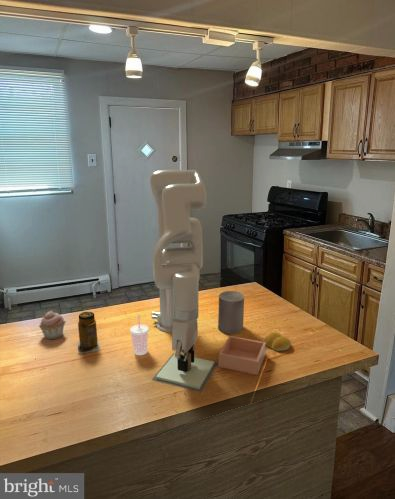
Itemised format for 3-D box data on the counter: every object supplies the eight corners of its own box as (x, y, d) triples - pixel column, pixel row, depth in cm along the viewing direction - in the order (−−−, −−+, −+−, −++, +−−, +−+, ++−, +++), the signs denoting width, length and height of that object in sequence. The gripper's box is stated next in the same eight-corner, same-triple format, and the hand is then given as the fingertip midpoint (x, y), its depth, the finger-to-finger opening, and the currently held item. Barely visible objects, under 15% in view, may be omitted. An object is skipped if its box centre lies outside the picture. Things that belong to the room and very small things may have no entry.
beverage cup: (147, 346, 132) (146, 310, 128) (151, 355, 126) (149, 317, 122) (130, 349, 130) (128, 312, 126) (132, 358, 124) (130, 320, 120)
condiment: (98, 339, 137) (95, 309, 133) (100, 350, 129) (98, 319, 126) (77, 342, 134) (74, 311, 131) (78, 354, 127) (75, 322, 123)
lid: (155, 378, 113) (155, 361, 111) (174, 355, 125) (174, 339, 124) (199, 389, 108) (199, 371, 106) (214, 363, 121) (214, 347, 119)
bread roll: (280, 354, 127) (281, 344, 126) (260, 344, 134) (261, 334, 133) (295, 346, 132) (296, 336, 131) (275, 336, 139) (275, 327, 138)
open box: (218, 368, 119) (218, 354, 118) (229, 348, 130) (229, 335, 129) (257, 376, 115) (258, 362, 113) (265, 355, 126) (266, 342, 125)
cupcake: (72, 334, 140) (69, 309, 138) (49, 344, 133) (47, 318, 130) (57, 327, 146) (54, 303, 143) (35, 336, 138) (32, 311, 136)
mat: (151, 381, 112) (151, 379, 112) (173, 354, 127) (173, 353, 127) (201, 393, 107) (201, 392, 107) (218, 363, 121) (218, 362, 121)
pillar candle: (217, 322, 150) (218, 287, 146) (242, 322, 149) (243, 287, 145) (218, 334, 140) (218, 297, 136) (244, 334, 140) (245, 297, 136)
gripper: (185, 299, 120) (185, 350, 125) (161, 322, 105) (163, 378, 110) (207, 303, 118) (206, 354, 123) (186, 326, 102) (187, 384, 107)
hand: (186, 365), depth 116 cm, fingers open, 4 cm apart
